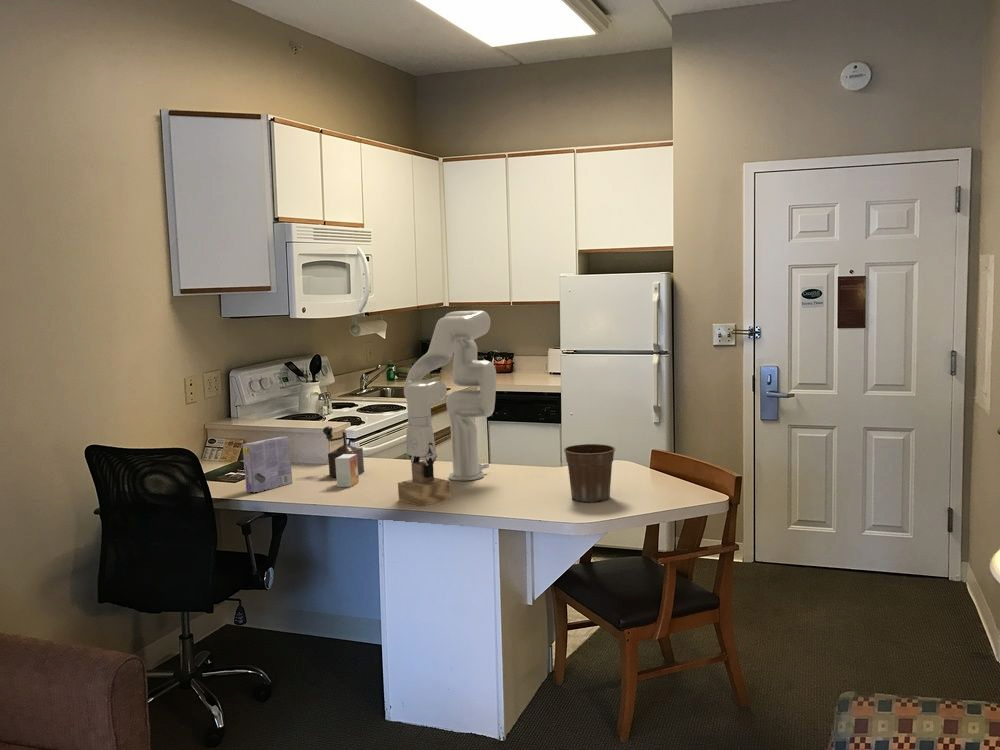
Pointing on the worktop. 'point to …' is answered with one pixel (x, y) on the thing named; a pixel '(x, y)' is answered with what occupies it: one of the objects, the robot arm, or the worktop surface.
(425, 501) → the oak base
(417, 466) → the walnut block
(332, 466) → the manual coffee grinder
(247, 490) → the cake pan box
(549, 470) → the worktop surface
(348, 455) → the small box
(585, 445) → the plant pot
